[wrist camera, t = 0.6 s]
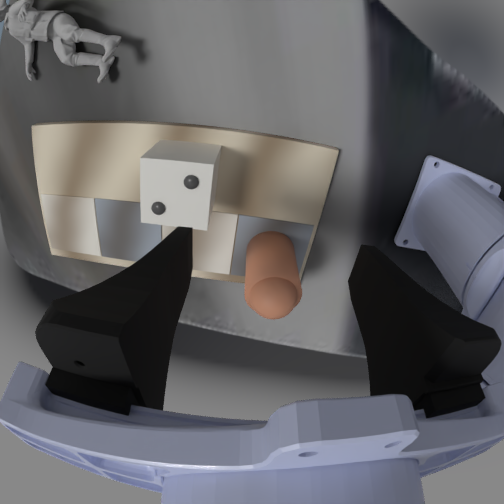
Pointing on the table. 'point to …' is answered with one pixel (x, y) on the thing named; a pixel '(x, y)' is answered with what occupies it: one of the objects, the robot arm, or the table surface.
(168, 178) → the die
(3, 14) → the soldier figure
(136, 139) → the board
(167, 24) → the table surface
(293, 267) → the pawn
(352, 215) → the table surface
